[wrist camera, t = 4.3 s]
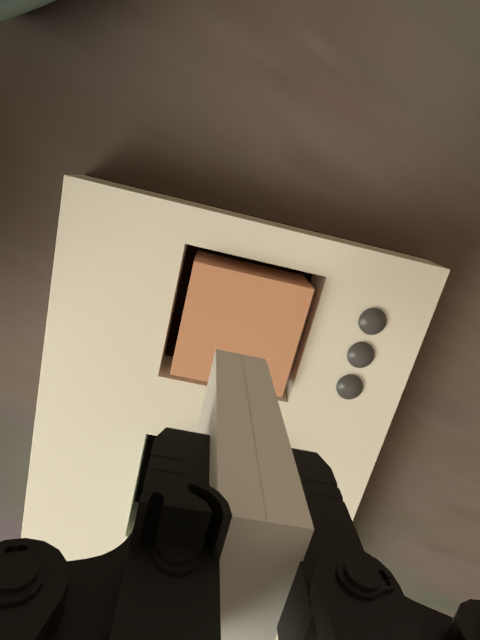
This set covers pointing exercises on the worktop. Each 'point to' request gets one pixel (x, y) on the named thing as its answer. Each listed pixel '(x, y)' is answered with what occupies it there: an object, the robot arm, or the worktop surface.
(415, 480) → the worktop surface
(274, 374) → the button
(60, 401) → the panel
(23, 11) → the flower pot
